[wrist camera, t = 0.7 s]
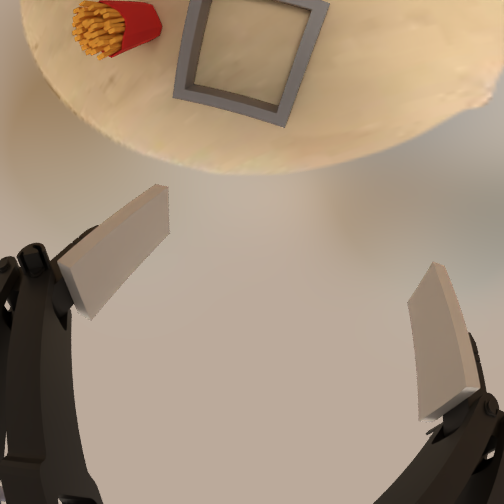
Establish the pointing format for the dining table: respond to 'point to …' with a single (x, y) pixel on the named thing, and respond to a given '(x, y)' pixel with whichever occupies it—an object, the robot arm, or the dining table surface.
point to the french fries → (114, 26)
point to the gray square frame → (235, 102)
